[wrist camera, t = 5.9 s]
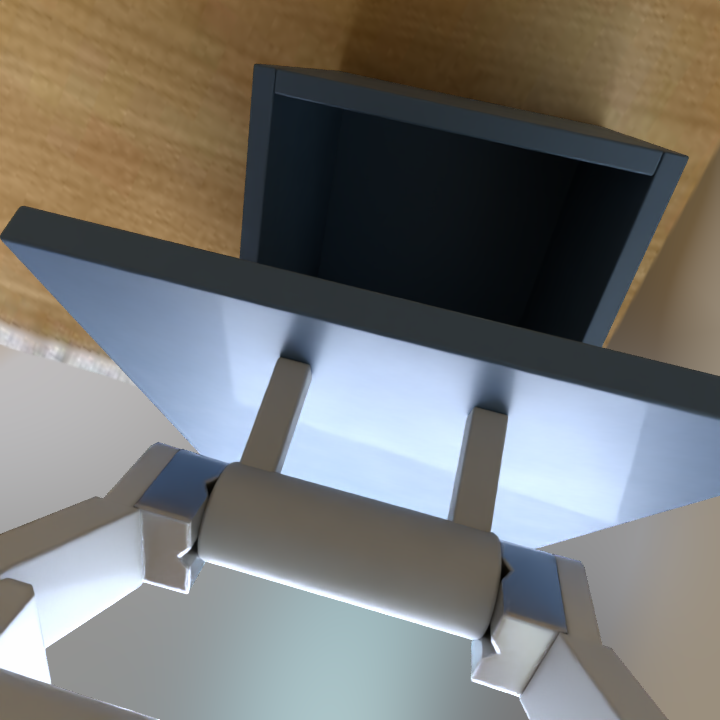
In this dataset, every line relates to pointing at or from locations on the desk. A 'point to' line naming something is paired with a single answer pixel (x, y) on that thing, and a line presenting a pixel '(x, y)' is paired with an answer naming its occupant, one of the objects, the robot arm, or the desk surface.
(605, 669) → the robot arm
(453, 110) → the chest
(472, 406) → the lid
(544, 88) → the desk surface
